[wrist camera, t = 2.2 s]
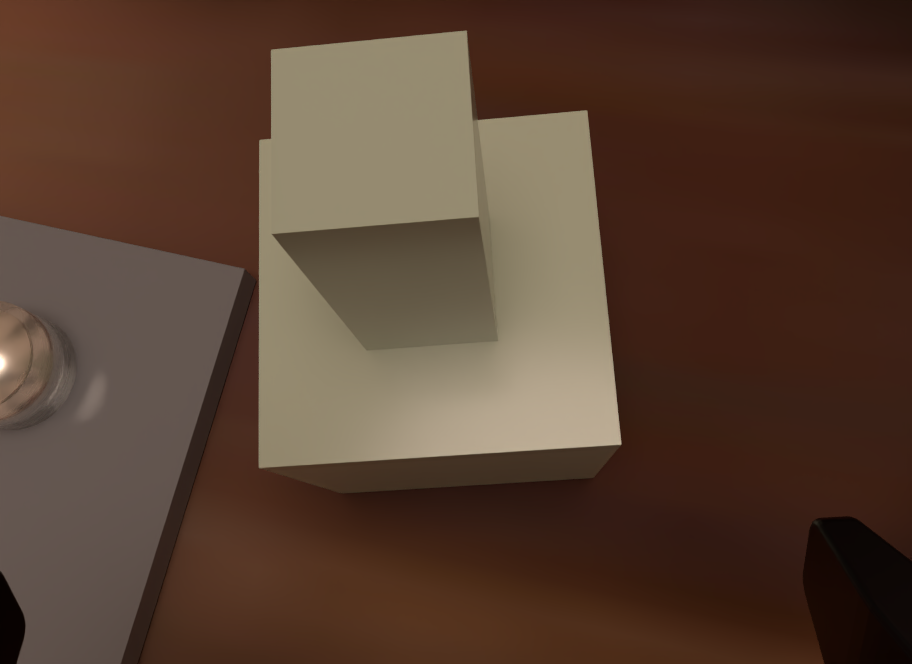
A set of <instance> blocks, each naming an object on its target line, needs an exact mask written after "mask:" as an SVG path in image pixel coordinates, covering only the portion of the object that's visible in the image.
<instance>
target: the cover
mask: <svg viewBox="0 0 912 664" xmlns="http://www.w3.org/2000/svg"><path fill="white" fill-rule="evenodd" d="M620 446H621V436H620V427H619V417H618V407H617V397H616V388H615V378H614V368H613V358H612V349H611V339H610V329H609V319H608V309H607V300H606V290H605V280H604V270H603V261H602V251H601V241H600V231H599V222H598V212H597V202H596V192H595V183H594V173H593V163H592V153H591V144H590V134H589V124H588V114H587V110H586V111H575V112H564V113H553V114H542V115H531V116H520V117H509V118H498V119H487V120H478V119H477V111H476V103H475V94H474V86H473V78H472V70H471V62H470V54H469V46H468V38H467V31H459V32H448V33H438V34H428V35H418V36H407V37H397V38H387V39H376V40H366V41H356V42H346V43H335V44H325V45H315V46H305V47H294V48H284V49H274V50H271V139H266V140H259V468H260V469H264V470H267V471H270V472H273V473H277V474H280V475H283V476H286V477H290V478H293V479H296V480H299V481H303V482H306V483H309V484H312V485H316V486H319V487H322V488H325V489H329V490H332V491H335V492H338V493H341V494H343V493H359V492H375V491H391V490H407V489H423V488H439V487H455V486H471V485H488V484H504V483H520V482H536V481H552V480H568V479H584V478H594V476H595V475H596V474H597V473H598V472H599V471H600V469H601V468H602V467H603V466H604V465H605V463H606V462H607V461H608V460H609V459H610V457H611V456H612V455H613V454H614V453H615V452H616V450H617V449H618V448H619V447H620Z"/></svg>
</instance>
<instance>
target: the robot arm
mask: <svg viewBox="0 0 912 664" xmlns="http://www.w3.org/2000/svg"><path fill="white" fill-rule="evenodd" d="M803 585H804V591H805V596H806V600H807V603H808V607H809V610H810V614H811V617H812V621H813V625H814V628H815V632H816V635H817V639H818V642H819V646H820V650H821V653H822V657H823V660H824V664H912V561H911V560H910V559H908V558H907V557H906V556H904V555H903V554H902V553H900V552H899V551H898V550H897V549H895V548H894V547H893V546H891V545H890V544H889V543H888V542H886V541H885V540H884V539H882V538H881V537H880V536H878V535H877V534H876V533H875V532H873V531H872V530H871V529H869V528H868V527H867V526H866V525H864V524H863V523H862V522H860V521H859V520H857V519H855V518H853V517H848V516H846V517H828V518H818V519H816V520H814V521H813V522H812V524H811V526H810V530H809V537H808V543H807V550H806V557H805V563H804V570H803ZM25 629H26V624H25V617H24V614H23V612H22V610H21V608H20V606H19V604H18V602H17V600H16V598H15V596H14V594H13V592H12V590H11V588H10V586H9V584H8V582H7V581H6V579H5V577H4V575H3V573H2V572H1V571H0V664H17V661H18V657H19V654H20V651H21V647H22V644H23V641H24V636H25Z"/></svg>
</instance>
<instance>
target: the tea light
mask: <svg viewBox="0 0 912 664" xmlns="http://www.w3.org/2000/svg"><path fill="white" fill-rule="evenodd" d="M76 367H77V362H76V355H75V351H74V348H73V345H72V343H71V341H70V339H69V338H68V336H67V335H66V334H65V332H64V331H63V330H62V329H60V328H59V327H58V326H56V325H55V324H54V323H51V322H49V321H47V320H45V319H43V318H41V317H39V316H37V315H35V314H33V313H31V312H28V311H26V310H24V309H22V308H20V307H18V306H16V305H14V304H11V303H8V302H4V301H0V428H1V429H7V430H19V429H25V428H29V427H32V426H35V425H37V424H39V423H41V422H43V421H45V420H46V419H48V418H49V417H51V416H52V415H53V414H54V413H55V412H56V411H57V410H58V409H59V408H60V407H61V406H62V405H63V403H64V402H65V400H66V399H67V397H68V396H69V394H70V392H71V389H72V387H73V384H74V381H75V376H76Z"/></svg>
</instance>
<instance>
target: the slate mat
mask: <svg viewBox="0 0 912 664" xmlns="http://www.w3.org/2000/svg"><path fill="white" fill-rule="evenodd" d="M255 283H256V280H255V279H254V278H253V277H252V276H251V275H250V274H249V273H248V272H247V271H246V270H245V269H243V268H238V267H234V266H229V265H224V264H220V263H215V262H210V261H206V260H201V259H197V258H192V257H187V256H183V255H178V254H174V253H169V252H164V251H160V250H155V249H150V248H146V247H141V246H137V245H132V244H127V243H123V242H118V241H113V240H109V239H104V238H100V237H95V236H90V235H86V234H81V233H76V232H72V231H67V230H63V229H58V228H53V227H49V226H44V225H39V224H35V223H30V222H26V221H21V220H16V219H12V218H7V217H3V216H0V301H4V302H8V303H11V304H14V305H16V306H18V307H20V308H22V309H24V310H26V311H28V312H31V313H33V314H35V315H37V316H39V317H41V318H43V319H45V320H47V321H49V322H51V323H54V324H55V325H56V326H58V327H59V328H60V329H62V330H63V331H64V332H65V334H66V335H67V336H68V338H69V339H70V341H71V343H72V345H73V348H74V351H75V355H76V362H77V367H76V376H75V381H74V384H73V387H72V389H71V392H70V394H69V396H68V397H67V399H66V400H65V402H64V403H63V405H62V406H61V407H60V408H59V409H58V410H57V411H56V412H55V413H54V414H53V415H52V416H51V417H49V418H48V419H46V420H45V421H43V422H41V423H39V424H37V425H35V426H32V427H29V428H25V429H19V430H7V429H1V428H0V571H1V572H2V573H3V575H4V577H5V579H6V581H7V582H8V584H9V586H10V588H11V590H12V592H13V594H14V596H15V598H16V600H17V602H18V604H19V606H20V608H21V610H22V612H23V614H24V617H25V624H26V629H25V636H24V641H23V644H22V647H21V651H20V654H19V657H18V661H17V664H138V661H139V657H140V654H141V651H142V648H143V644H144V641H145V638H146V635H147V632H148V628H149V625H150V622H151V619H152V615H153V612H154V609H155V606H156V602H157V599H158V596H159V593H160V590H161V586H162V583H163V580H164V577H165V573H166V570H167V567H168V564H169V560H170V557H171V554H172V551H173V548H174V544H175V541H176V538H177V535H178V531H179V528H180V525H181V522H182V519H183V515H184V512H185V509H186V506H187V502H188V499H189V496H190V493H191V489H192V486H193V483H194V480H195V477H196V473H197V470H198V467H199V464H200V460H201V457H202V454H203V451H204V447H205V444H206V441H207V438H208V435H209V431H210V428H211V425H212V422H213V418H214V415H215V412H216V409H217V405H218V402H219V399H220V396H221V393H222V389H223V386H224V383H225V380H226V376H227V373H228V370H229V367H230V363H231V360H232V357H233V354H234V351H235V347H236V344H237V341H238V338H239V334H240V331H241V328H242V325H243V322H244V318H245V315H246V312H247V309H248V305H249V302H250V299H251V296H252V292H253V289H254V286H255Z"/></svg>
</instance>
